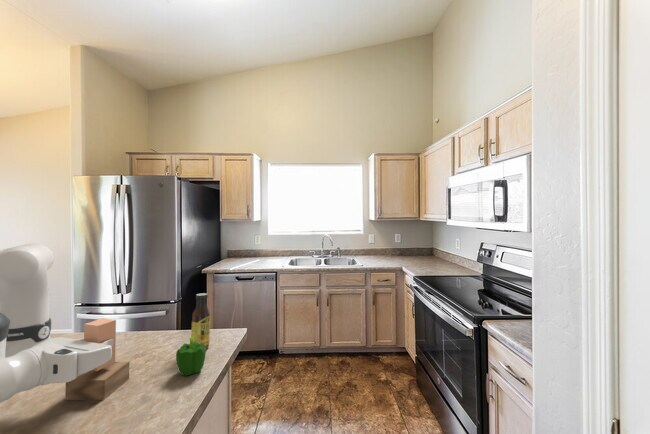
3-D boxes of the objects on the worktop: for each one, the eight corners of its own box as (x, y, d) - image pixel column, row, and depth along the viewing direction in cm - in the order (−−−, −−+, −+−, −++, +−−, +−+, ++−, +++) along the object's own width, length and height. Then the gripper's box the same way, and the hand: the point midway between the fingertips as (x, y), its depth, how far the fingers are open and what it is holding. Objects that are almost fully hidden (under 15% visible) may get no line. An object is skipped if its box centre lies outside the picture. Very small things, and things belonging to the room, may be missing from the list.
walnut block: (65, 399, 75) (65, 380, 75) (94, 379, 85) (95, 361, 85) (104, 399, 76) (104, 380, 76) (129, 378, 86) (129, 361, 86)
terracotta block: (96, 370, 77) (97, 325, 78) (83, 368, 79) (84, 324, 79) (115, 362, 82) (115, 319, 82) (102, 359, 84) (102, 318, 84)
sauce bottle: (202, 353, 102) (203, 297, 103) (187, 351, 103) (187, 296, 104) (213, 345, 109) (213, 292, 109) (198, 344, 110) (198, 291, 110)
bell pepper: (200, 378, 86) (200, 344, 86) (171, 379, 85) (172, 345, 86) (209, 364, 94) (209, 333, 95) (183, 365, 94) (184, 334, 94)
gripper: (14, 370, 71) (76, 346, 84) (73, 383, 65) (130, 356, 79) (15, 344, 71) (77, 325, 84) (74, 355, 65) (130, 333, 79)
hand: (103, 340), depth 81 cm, fingers closed on terracotta block, 5 cm apart
